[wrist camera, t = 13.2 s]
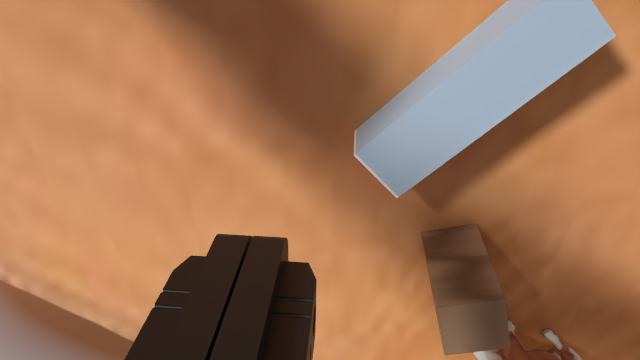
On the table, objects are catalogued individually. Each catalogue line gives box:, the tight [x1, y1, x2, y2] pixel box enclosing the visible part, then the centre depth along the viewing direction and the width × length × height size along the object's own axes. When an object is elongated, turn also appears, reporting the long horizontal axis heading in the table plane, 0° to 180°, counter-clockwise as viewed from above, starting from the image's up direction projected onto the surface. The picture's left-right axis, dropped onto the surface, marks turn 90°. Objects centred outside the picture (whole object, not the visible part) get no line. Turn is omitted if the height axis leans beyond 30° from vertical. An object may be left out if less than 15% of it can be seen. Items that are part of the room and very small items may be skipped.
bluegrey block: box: [354, 0, 616, 198], centre depth 35 cm, size 5×5×18 cm
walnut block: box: [421, 224, 510, 355], centre depth 40 cm, size 5×5×10 cm
